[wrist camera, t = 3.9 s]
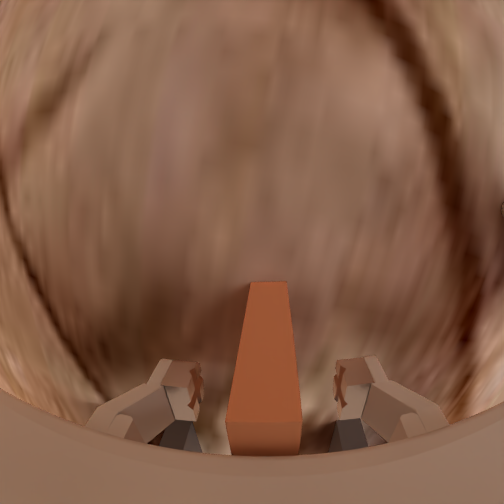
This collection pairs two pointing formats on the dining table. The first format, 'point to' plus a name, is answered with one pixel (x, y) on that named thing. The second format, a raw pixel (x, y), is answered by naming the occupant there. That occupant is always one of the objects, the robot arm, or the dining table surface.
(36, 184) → the dining table surface
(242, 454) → the domino
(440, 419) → the robot arm
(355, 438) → the domino
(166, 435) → the domino
